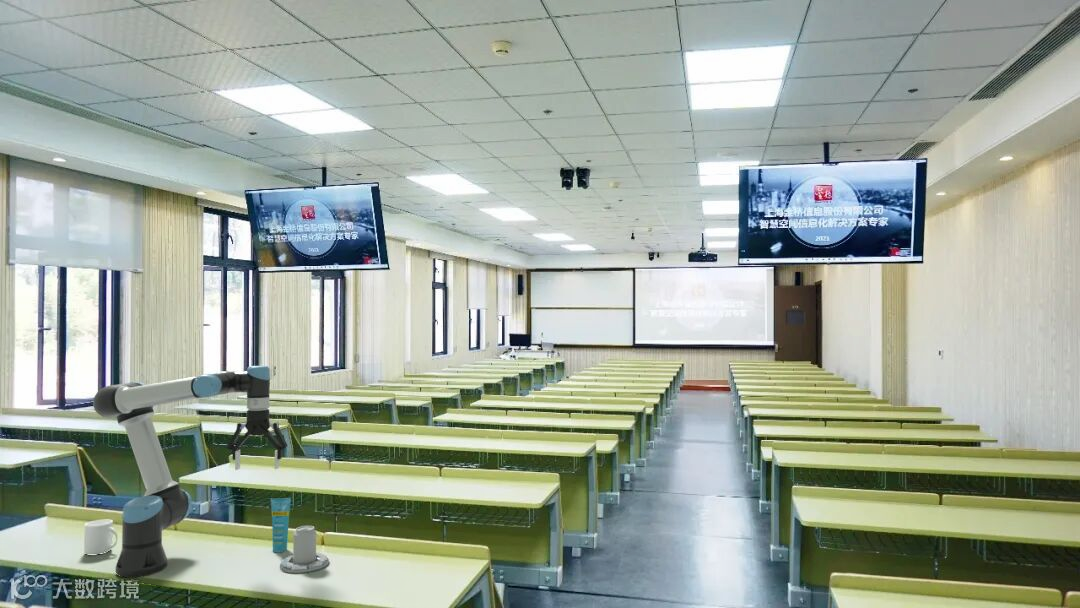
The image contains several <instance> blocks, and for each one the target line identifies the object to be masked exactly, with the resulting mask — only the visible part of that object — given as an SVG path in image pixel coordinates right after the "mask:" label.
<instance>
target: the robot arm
mask: <svg viewBox="0 0 1080 608" xmlns="http://www.w3.org/2000/svg"><path fill="white" fill-rule="evenodd" d="M270 371H271V370H270V367H269V366H267V365H251V366H248V367H247V369H246V371H234V370H233V371H229V370H224V371H218V372H216V373H207V374H206V373H205V374H202V375H198V376H191V377H185V378H179V379H172V380H167V381H163V382H161V381H160V382H156V383H150V384H149V383H148V384H146V383H143V382H135V381H132V382H126V383H119V384H110V385H108V386H104V387H102V388H100V389H99V390H98V391H97V392H96V393H95V395H94V397H93V400H92V401H93V402H92V405H93V409H94V411H95V412H96V414H98V416H101V417H102V418H105V419H116V420H117V424H118V425H119V426H121V427H123V428H124V429H125V432H126V434H127V437H128V440H129V444H130V445H131V449H132V452H133V455H134V458H135V460H136V464H137V467H138V469H139V473H140V475H141V479H142V482H143V484H144V487H145V489H146V490H145V492H144V494H143V496H141V497H136V498H133V499H130V500H129V501H128V502H125V505H124V506H123V508H122V515H121V519H122V528H121V529H122V531H121V533H122V535H121V536H122V537H121V538H122V540H121V541H122V542H121V543H122V544H121V551H120V554H119V556H118V559H117V562H116V564H115V572H116V573H117V574H118V575H120V576H124V577H123V578H138V577H144V576H149V575H153V574H156V573H159V572H162V571H163V570H164V569H165V568H167V567H168V558H167V554H166V552H165V549H164V546H163V543H162V541H163V539H162V538H163V531H164V530H166V529H168V528H170V527H172V526H175V525H178V524H179V523H180V522H182V521H183V520H185V519H186V518H187V517H188V516H189V514H190V512H191V510H192V507H193V502H192V497H191V495H190V494H189V492H187V491H185V490H184V489H182V488H181V487H180V484H179V482H177V481H175V480H173V477H172V475H171V473H170V469H169V467H168V463H167V461H166V457H165V455H164V452H163V449H162V446H161V444H160V440H159V437H158V434H157V431H156V428H155V426H154V424H153V420H152V418H153V416H154V415H155V411H154V409H153V408H154V407H155V406H162V405H166V404H172V403H179V402H184V401H191V400H195V399H203V398H211V397H214V396H219V395H224V394H231V393H246V409H247V410H246V422H245V423H243V422H241V421H240V422H239V423H237V424H236V430H235V432H234V433H233V435H232V437H231V438H230V441H229V443H228V445H227V446H226V449H227V450H230V451H231V452H232V460H233V461H235V462H234V470H235V471H238V470H240V469H241V449H239V448H240V447H241V446H242V445H243V444H244V443H245V442H246V441H247V439H248V438H249V437H250V436H260V437H261V436H264V437H265V438H266V439H267V440H268V441H269V442H270V444H272V445H273V447H274V448H275V449H276V450H274V470H278V469H279V468H280V460H281V459H283V450H284V449H287V447H288V443H287V441H286V439H285V437H284V436H283V435H284V434H282V431H281V429H280V427H279V426H280V425H279V422H278V421H275V422H270V409H269V408H270V398H271V397H270V387H271V386H270V385H271V384H270V383H271V372H270ZM245 428H246V430H247V431H246V432H245V433H244V435H243V436H242V437H241V438H240V439H239V440H238V438H239V436H240V434H241V433H242V431H243V430H244V429H245ZM269 428H271V429H272V430H273V431H274V434H275V435H276V437H275V436H273V434H272V432H271V431H270V430H269ZM276 438H277V439H276ZM237 440H238V441H237ZM115 572H114V573H115ZM120 576H119V577H120Z"/></svg>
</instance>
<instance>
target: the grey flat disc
mask: <svg viewBox="0 0 1080 608" xmlns="http://www.w3.org/2000/svg"><path fill="white" fill-rule="evenodd" d="M329 563H330V560H329V558H328V556H327V555H326V554H324V553H322V552H317V551H316V560H315V561H314V562H313V563H309V564H295V563H294V562H293V554H292V555H288V556H287V557H285V558H284V559H283V561H281V562H280V564H279V570H280V571H281V572H283V573H287V574H295V575H296V574H306V573H307V574H309V573H313V572H316V571H320V570H322V569H324V568H326V567H327V566H329Z"/></svg>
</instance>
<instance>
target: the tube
mask: <svg viewBox="0 0 1080 608" xmlns="http://www.w3.org/2000/svg"><path fill="white" fill-rule="evenodd" d="M291 502H292V498H291V497H284V498H270V506H271V507H270V508H271V525H272V527H271V528H272V552H273V553H283V552H286V551H287V549H288V540H289V539H288V537H289V535H288V534H289V524H290V523H289V522H290V520H289V519H290V511H291V504H292V503H291Z"/></svg>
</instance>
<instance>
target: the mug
mask: <svg viewBox="0 0 1080 608" xmlns="http://www.w3.org/2000/svg"><path fill="white" fill-rule="evenodd" d="M113 523H114V521H113V519H106V518H105V519H95V520H92V521H88V522H86V523H85V524H84V539H83V540H84V542H83V543H84V544H83V545H84V546H83V547H84V548H83V551H84V552H83V553H84V554H85V553H86V554H100V553H104V552H107V551H110V550H111V549H112V550H113V549H114V548H115V547H116V546H117V543H118V533H117V531H116V529H115V528H113V525H114V524H113ZM113 535H114V536H115V542H114V543H113ZM112 550H111V551H112ZM111 551H110V552H111Z"/></svg>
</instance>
